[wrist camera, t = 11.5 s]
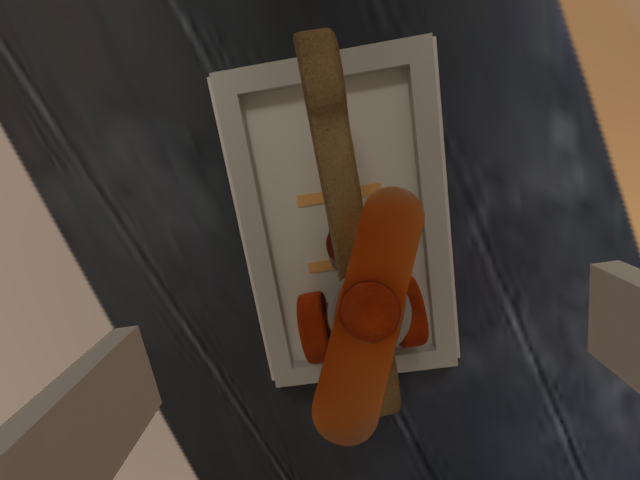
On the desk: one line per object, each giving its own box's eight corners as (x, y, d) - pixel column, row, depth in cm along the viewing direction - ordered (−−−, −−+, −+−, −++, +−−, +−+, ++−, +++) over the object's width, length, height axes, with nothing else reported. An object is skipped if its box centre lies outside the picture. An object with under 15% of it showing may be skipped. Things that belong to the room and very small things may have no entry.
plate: (215, 82, 26) (201, 74, 23) (427, 44, 25) (440, 31, 22) (275, 366, 32) (269, 388, 29) (452, 344, 31) (464, 365, 28)
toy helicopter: (314, 353, 29) (299, 529, 16) (251, 73, 24) (153, -19, 11) (418, 336, 28) (496, 504, 15) (376, 45, 23) (434, -89, 10)
